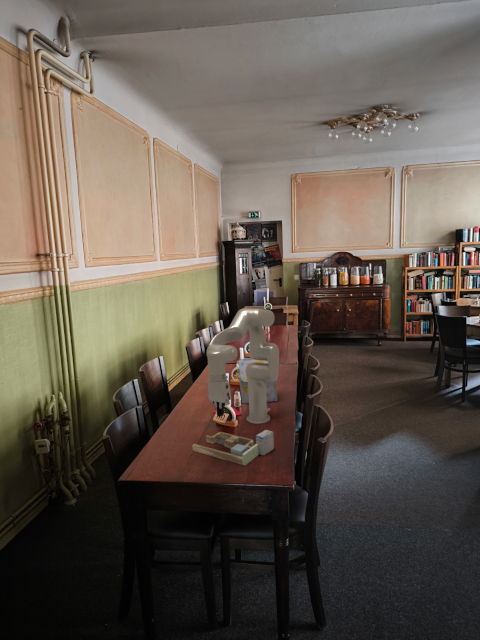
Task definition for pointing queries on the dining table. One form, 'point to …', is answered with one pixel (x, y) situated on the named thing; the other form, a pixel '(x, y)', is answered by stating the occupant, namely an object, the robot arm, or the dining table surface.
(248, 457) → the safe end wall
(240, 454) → the slate block
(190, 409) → the dining table surface
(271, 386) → the lunch bag
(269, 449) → the medicine box
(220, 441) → the pads
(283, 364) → the dining table surface
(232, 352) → the robot arm
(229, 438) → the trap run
